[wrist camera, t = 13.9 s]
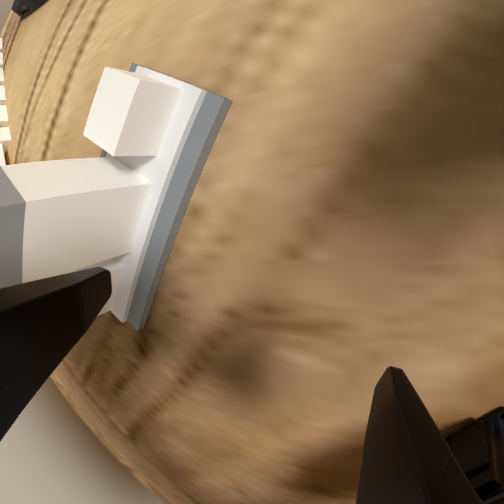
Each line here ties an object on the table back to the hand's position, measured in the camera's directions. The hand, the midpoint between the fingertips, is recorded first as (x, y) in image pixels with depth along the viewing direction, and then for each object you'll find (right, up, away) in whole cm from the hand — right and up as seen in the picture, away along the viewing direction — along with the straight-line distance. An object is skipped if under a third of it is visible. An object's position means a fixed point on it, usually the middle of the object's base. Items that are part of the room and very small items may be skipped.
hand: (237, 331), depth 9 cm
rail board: (-9, +7, +16) cm, 20 cm away
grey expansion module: (-10, +6, +15) cm, 19 cm away
